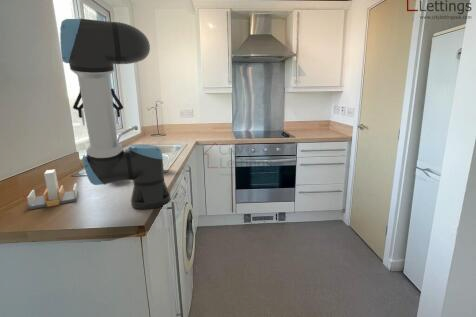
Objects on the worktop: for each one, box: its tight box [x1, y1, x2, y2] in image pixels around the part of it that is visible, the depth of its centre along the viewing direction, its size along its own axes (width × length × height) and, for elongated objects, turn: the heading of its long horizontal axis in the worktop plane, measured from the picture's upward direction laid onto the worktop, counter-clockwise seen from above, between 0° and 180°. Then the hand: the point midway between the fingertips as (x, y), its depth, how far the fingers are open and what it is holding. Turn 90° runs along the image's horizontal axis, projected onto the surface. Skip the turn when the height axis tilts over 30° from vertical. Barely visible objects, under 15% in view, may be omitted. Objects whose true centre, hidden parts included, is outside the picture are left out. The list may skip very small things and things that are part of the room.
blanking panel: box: [43, 168, 60, 201], centre depth 108 cm, size 6×3×12 cm, turn 28°
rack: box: [26, 182, 79, 210], centre depth 109 cm, size 13×16×5 cm
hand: (101, 124), depth 119 cm, fingers open, 13 cm apart
